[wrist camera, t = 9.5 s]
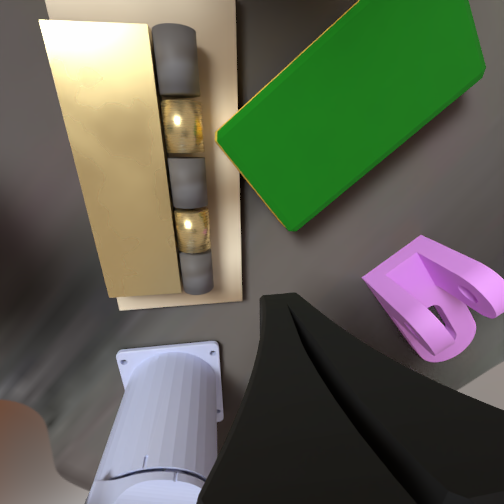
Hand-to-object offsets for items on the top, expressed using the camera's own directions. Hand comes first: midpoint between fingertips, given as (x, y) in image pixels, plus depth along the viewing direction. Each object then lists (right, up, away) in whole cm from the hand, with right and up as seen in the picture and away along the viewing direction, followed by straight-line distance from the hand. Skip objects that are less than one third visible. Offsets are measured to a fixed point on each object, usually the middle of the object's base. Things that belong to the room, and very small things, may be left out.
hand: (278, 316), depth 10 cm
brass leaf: (-7, +7, +6) cm, 11 cm away
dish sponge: (+4, +11, +6) cm, 14 cm away
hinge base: (-6, +7, +7) cm, 12 cm away
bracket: (+14, -2, +14) cm, 20 cm away
